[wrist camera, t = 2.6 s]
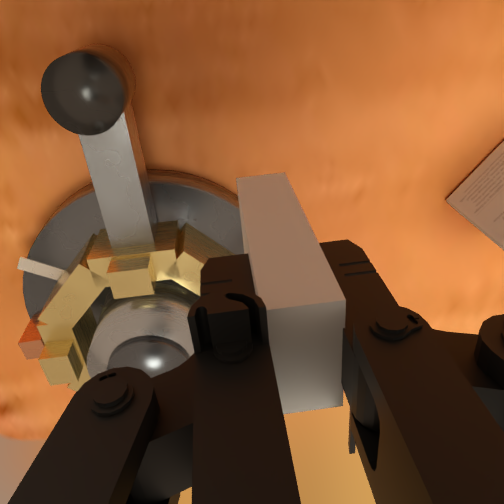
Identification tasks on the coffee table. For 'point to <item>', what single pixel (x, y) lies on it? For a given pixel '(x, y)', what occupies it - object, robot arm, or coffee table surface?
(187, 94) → the coffee table surface
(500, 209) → the skincare box
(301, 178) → the coffee table surface
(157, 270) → the ball lever
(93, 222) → the housing
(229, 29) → the coffee table surface
